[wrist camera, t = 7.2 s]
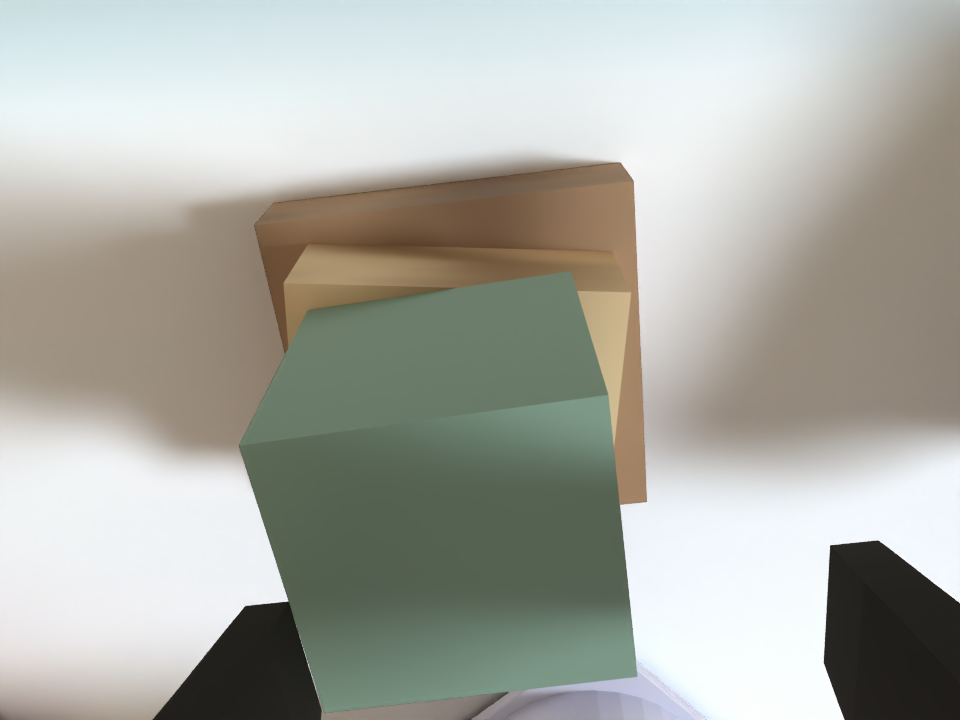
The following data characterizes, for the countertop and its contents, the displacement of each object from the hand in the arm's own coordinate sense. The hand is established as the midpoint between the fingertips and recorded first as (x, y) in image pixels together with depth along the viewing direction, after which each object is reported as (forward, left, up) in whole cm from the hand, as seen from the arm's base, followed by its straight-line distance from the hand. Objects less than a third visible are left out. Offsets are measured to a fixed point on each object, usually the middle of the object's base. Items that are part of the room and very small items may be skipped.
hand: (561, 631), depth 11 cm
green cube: (-1, +1, -6) cm, 6 cm away
